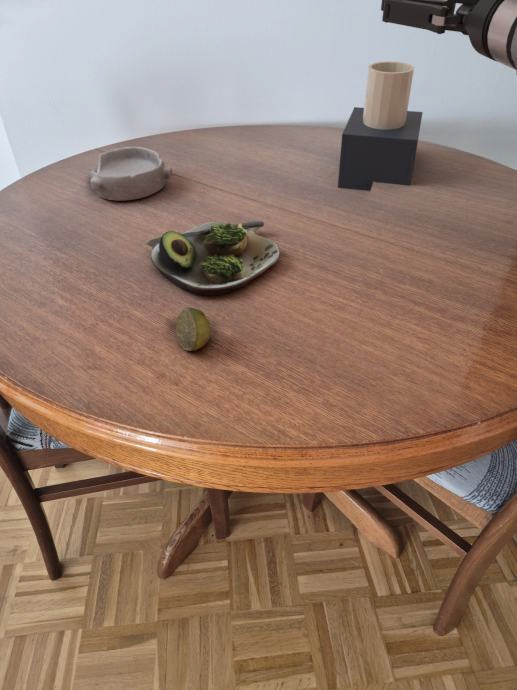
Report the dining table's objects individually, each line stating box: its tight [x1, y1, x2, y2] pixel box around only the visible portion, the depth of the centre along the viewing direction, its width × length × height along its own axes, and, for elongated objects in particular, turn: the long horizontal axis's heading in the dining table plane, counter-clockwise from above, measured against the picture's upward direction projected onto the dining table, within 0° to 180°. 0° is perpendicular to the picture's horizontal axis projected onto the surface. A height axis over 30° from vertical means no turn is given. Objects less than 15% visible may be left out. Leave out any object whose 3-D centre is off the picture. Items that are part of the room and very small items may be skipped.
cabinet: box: [337, 106, 423, 191], centre depth 99 cm, size 15×13×10 cm
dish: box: [89, 146, 173, 202], centre depth 99 cm, size 14×14×5 cm
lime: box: [175, 307, 212, 352], centre depth 64 cm, size 4×5×5 cm
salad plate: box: [145, 220, 281, 297], centre depth 80 cm, size 19×18×5 cm
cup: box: [363, 60, 415, 130], centre depth 93 cm, size 7×7×9 cm
